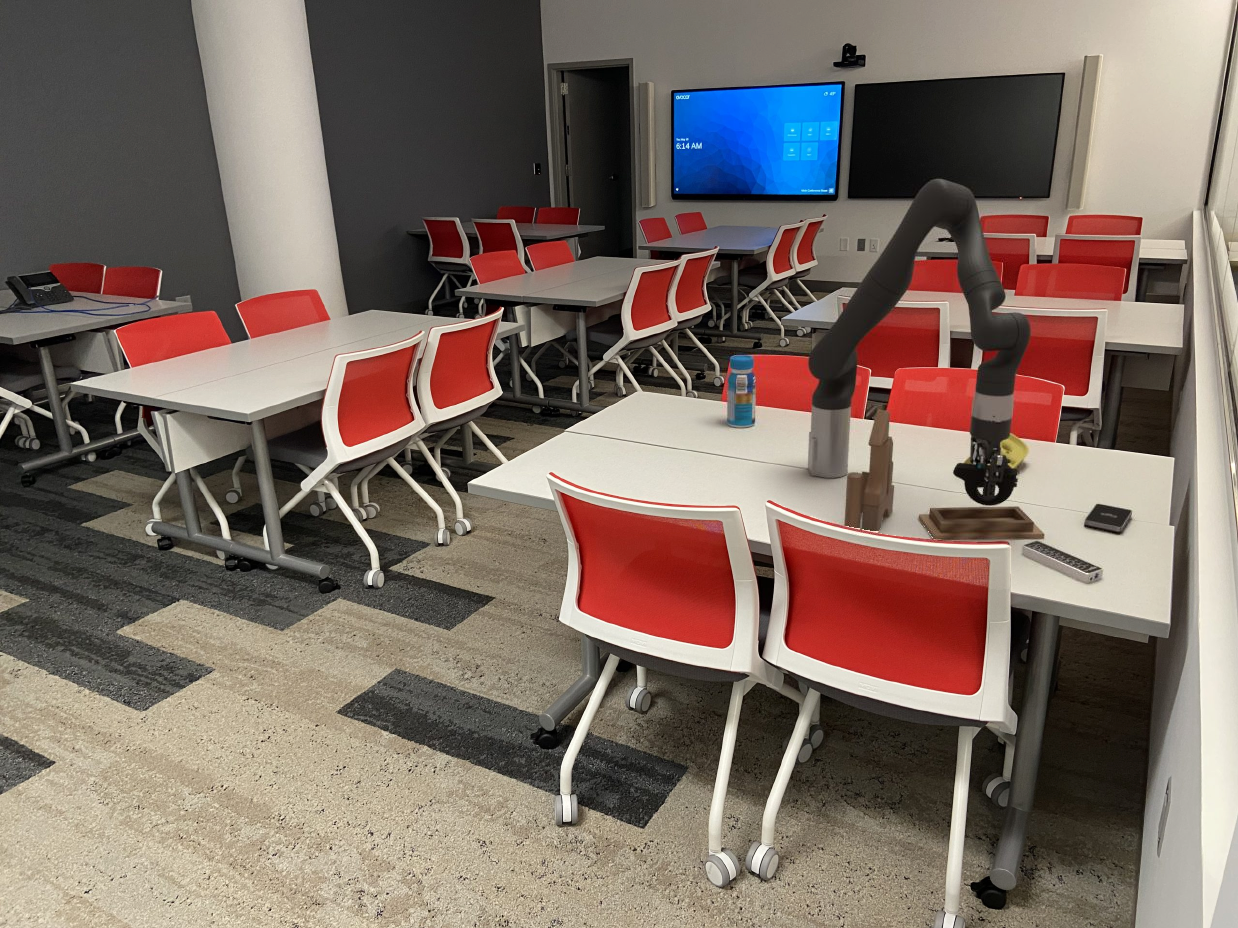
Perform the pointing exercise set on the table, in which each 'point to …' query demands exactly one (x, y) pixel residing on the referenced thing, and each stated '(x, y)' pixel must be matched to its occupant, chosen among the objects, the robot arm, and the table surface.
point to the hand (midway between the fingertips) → (983, 492)
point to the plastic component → (1012, 451)
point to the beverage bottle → (741, 392)
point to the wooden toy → (872, 481)
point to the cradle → (980, 523)
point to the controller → (975, 476)
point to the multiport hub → (1062, 562)
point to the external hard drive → (1108, 518)
